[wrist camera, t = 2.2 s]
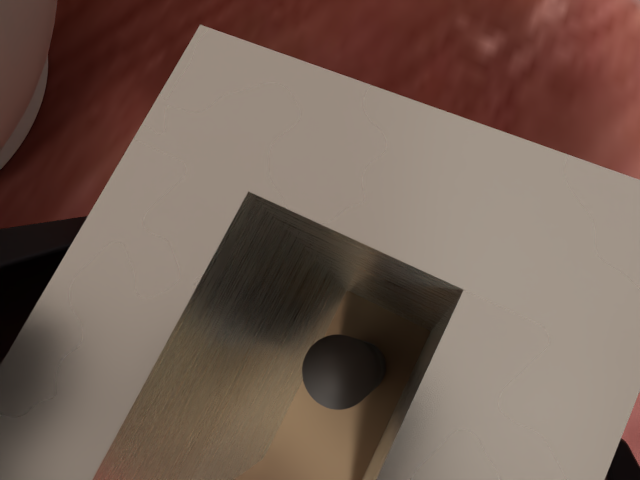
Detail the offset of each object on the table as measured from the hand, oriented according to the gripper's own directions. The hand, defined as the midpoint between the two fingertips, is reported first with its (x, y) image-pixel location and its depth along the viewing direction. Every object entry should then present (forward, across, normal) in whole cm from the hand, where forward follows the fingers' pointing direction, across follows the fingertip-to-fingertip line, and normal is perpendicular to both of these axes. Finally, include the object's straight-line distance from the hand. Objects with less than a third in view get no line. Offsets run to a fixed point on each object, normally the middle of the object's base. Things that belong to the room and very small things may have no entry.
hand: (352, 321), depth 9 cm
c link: (+4, 0, +5) cm, 6 cm away
